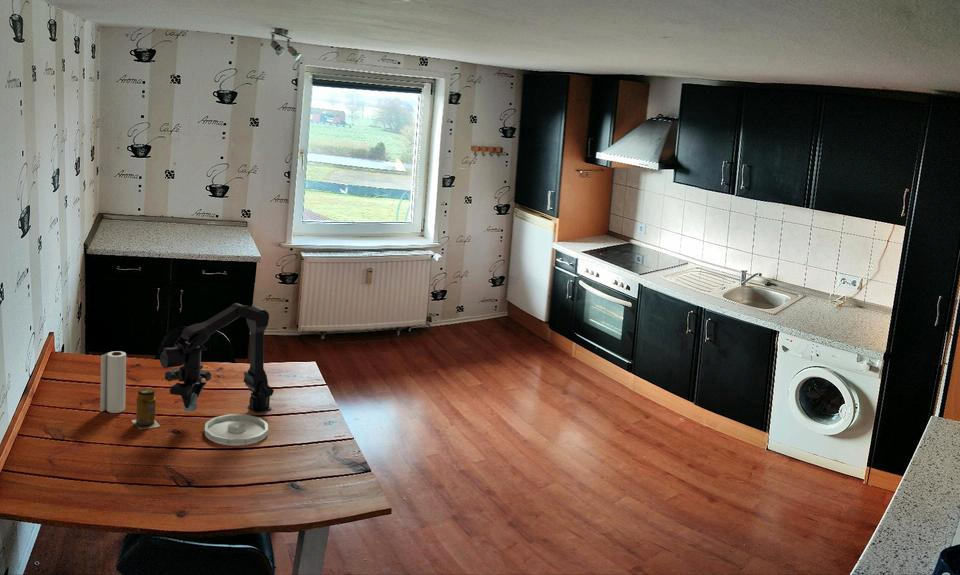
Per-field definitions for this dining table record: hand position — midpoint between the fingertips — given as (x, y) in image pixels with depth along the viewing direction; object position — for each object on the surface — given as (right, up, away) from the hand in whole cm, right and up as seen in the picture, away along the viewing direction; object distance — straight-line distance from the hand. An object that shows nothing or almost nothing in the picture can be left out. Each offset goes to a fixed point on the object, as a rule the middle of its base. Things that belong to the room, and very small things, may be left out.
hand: (190, 405), depth 290 cm
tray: (+16, -9, 0) cm, 19 cm away
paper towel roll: (-29, -3, +6) cm, 30 cm away
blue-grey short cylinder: (0, -1, 0) cm, 1 cm away
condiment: (-15, -6, -2) cm, 16 cm away
